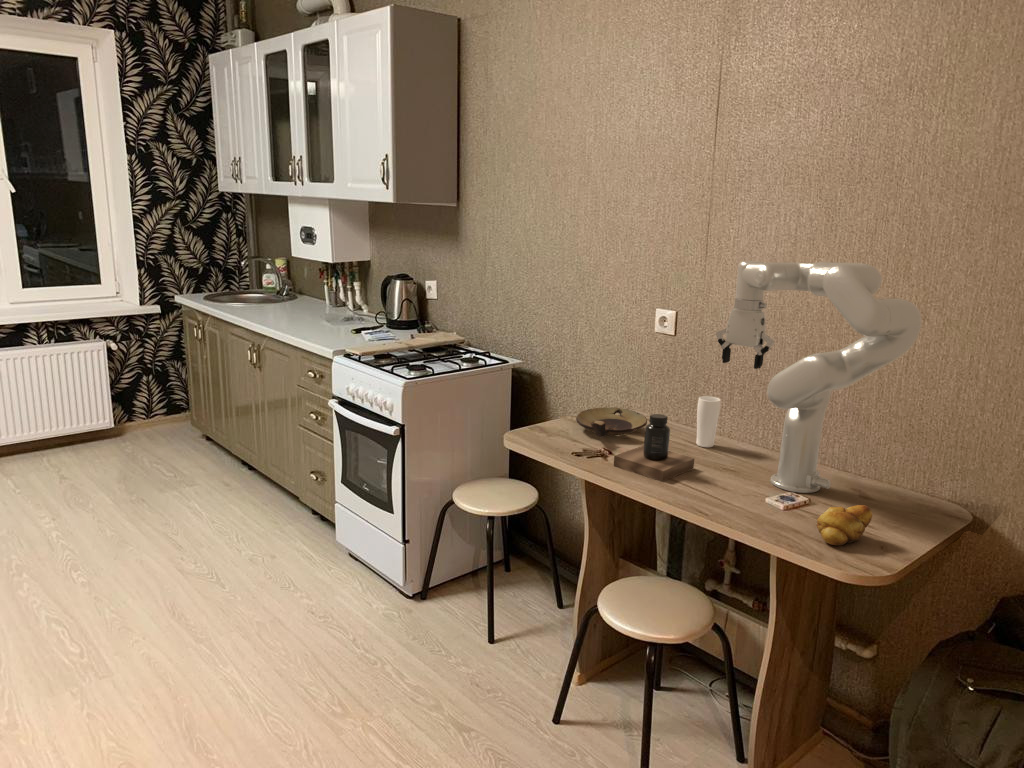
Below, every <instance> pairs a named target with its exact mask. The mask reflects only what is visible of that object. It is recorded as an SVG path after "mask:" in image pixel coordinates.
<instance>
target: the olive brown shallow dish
mask: <svg viewBox="0 0 1024 768" xmlns="http://www.w3.org/2000/svg"><path fill="white" fill-rule="evenodd" d="M575 420H576V423H577V424H578V425H579V426H581V427H583V428H584V429H586V430H588V431H590V432H592V433H594V434H596V436H597V437H599V438H603V437H605V436H609V437H610V436H611V437H612V436H613V437H614V436H623V435H627V434H631V433H633V432H636V431H637V430H639V429H641V428H643V427H646V426H647V425H648V419H647V416H645V415H644V414H642V413H639V412H638V411H635V410H633V409H631V410H630V409H629V408H621V407H615V406H614V407H595V408H589V409H586V410H582V411H580V413H578V414H577V415H576V418H575Z"/></svg>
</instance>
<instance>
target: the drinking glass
mask: <svg viewBox="0 0 1024 768" xmlns="http://www.w3.org/2000/svg"><path fill="white" fill-rule="evenodd" d="M697 399H698V400H697V408H696V409H697V410H696V411H697V412H696V445H697V446H698V447H702V448H712V447H714V445H715V440H716V439H715V438H716V434H717V433H716V432H717V428H718V423H719V418H720V413H721V402H722V400H721V398H719V397H717V396H712V395H711V396H710V395H703V396H699V397H698V398H697Z"/></svg>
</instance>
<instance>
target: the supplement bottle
mask: <svg viewBox="0 0 1024 768" xmlns="http://www.w3.org/2000/svg"><path fill="white" fill-rule="evenodd" d="M648 421H649V423H647V424H646V426H645V429H644V441H643V442H644V443H643V446H644V452H643V455H644V457H645V458H647V459H650V460H655V461H662V460H666V459H667V458H668V451H670V450H669V449H670V448H669V447H670V436H671V429H670V427H669V425H667V424H668V416H667V415H665V414H660V413H654V414H653V413H651V414H650V415H649V420H648Z"/></svg>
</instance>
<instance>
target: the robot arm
mask: <svg viewBox="0 0 1024 768" xmlns="http://www.w3.org/2000/svg"><path fill="white" fill-rule="evenodd" d="M882 279H883V278H882V275H881V273H880V271H879V269H878V268H876V267H875V266H873V265H871V264H868V263H861V262H859V263H857V262H830V261H828V262H827V261H826V262H825V261H817V262H810V263H809V262H787V261H786V262H783V261H781V262H777V261H776V262H764V261H759V260H742V261H740V262H739V264H738V268H737V277H736V285H735V286H736V287H735V296H734V297H735V298H734V302H733V304H734V305H733V308H731V310H730V313H729V316H728V321H727V324H726V328H724V329H721V330H719V331H716V332H715V336H716V339H717V342H718V344H719V345H720V347H721V349H722V355H721V359H722V363H723V364H726V363H729V362H730V360H731V353H732V348H730V347H731V346H732V345H734V346H735V345H736V346H743V347H749V348H753V349H754V350H755V352H756V354H755V355H754V362H753V369H754V370H758V369H761V368H762V366H763V363H764V355H765V354H767V353H768V352H769V351H770V350H771V348H772V347H773V346H774V344H775V342H776V341H775V340H774V338H771V336H768V335H767V334H766V324H767V323H766V314H765V311H763V309H767V307H768V304H767V303H765V302H764V294H765V292H774V291H775V292H776V291H802V292H810V293H811V294H812V295H814V296H815V297H816V296H817V297H827V298H828V299H829V301H830V303H832V305H833V306H834V307H835V308H836V309H837V311H838V312H839V313H840V315H841V316H842V317H843V319H844V320H845V321H846V322H847V323H848V325H849V326H850V327H851V328H852V329H853V330H854V331H855V332H856V333H858V334H859V335H862V337H861V338H859V339H857V340H856V341H854V342H852V343H850V344H849V345H847V346H845V347H843V348H841V349H838V350H831V351H827V352H826V351H825V352H816V353H812V354H810V355H809V354H808V355H807V356H804V357H803V358H801V359H799V360H797V361H796V362H794V363H792V364H791V365H790V366H787V367H786V368H783V370H781V371H779V372H778V373H776V374H775V375H774V376H773V377H772V378H771V379H770V381H769V383H768V385H767V391H766V393H767V398H768V400H769V402H771V404H772V406H773V405H774V406H775V407H776V408H779V409H782V410H787V411H786V413H785V418H784V421H783V428H782V436H781V444H780V451H779V459H778V466H777V467H778V468H777V473H773V474H772V475H771V476H770V483H771V484H772V485H773V486H775V487H777V488H779V489H782V490H785V491H789V492H793V493H800V494H801V493H802V494H809V493H810V494H811V493H815V492H818V491H820V490H821V488H823V489H827V490H830V487H831V481H830V479H828V478H825V477H821V476H820V471H819V470H817V468H818V461H819V460H818V459H819V454H820V447H821V446H820V445H821V439H822V432H823V426H824V420H825V416H826V411H827V408H828V406H829V402H830V399H831V397H832V391H837V390H842V389H846V388H848V387H850V386H852V385H853V384H855V383H856V382H858V381H860V380H862V379H864V378H865V377H867V376H870V375H871V374H873V373H875V372H876V371H879V370H881V369H882V368H884V367H885V366H887V365H889V364H891V363H893V362H894V361H897V360H898V359H900V358H901V357H902V356H903V355H905V354H906V353H907V352H908V351H910V349H911V348H912V347H913V346H914V344H915V343H916V341H917V340H918V337H919V335H920V332H921V328H922V315H921V311H920V309H919V308H918V306H917V305H916V304H914V303H913V302H911V301H909V300H907V299H902V298H896V297H895V298H877V299H876V298H875V297H874V295H875V294H876V293H877V292H878V291H879V290H880V288H881V286H882V282H883V280H882ZM724 335H725V338H724ZM765 342H766V345H765V346H764V344H765Z"/></svg>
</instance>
